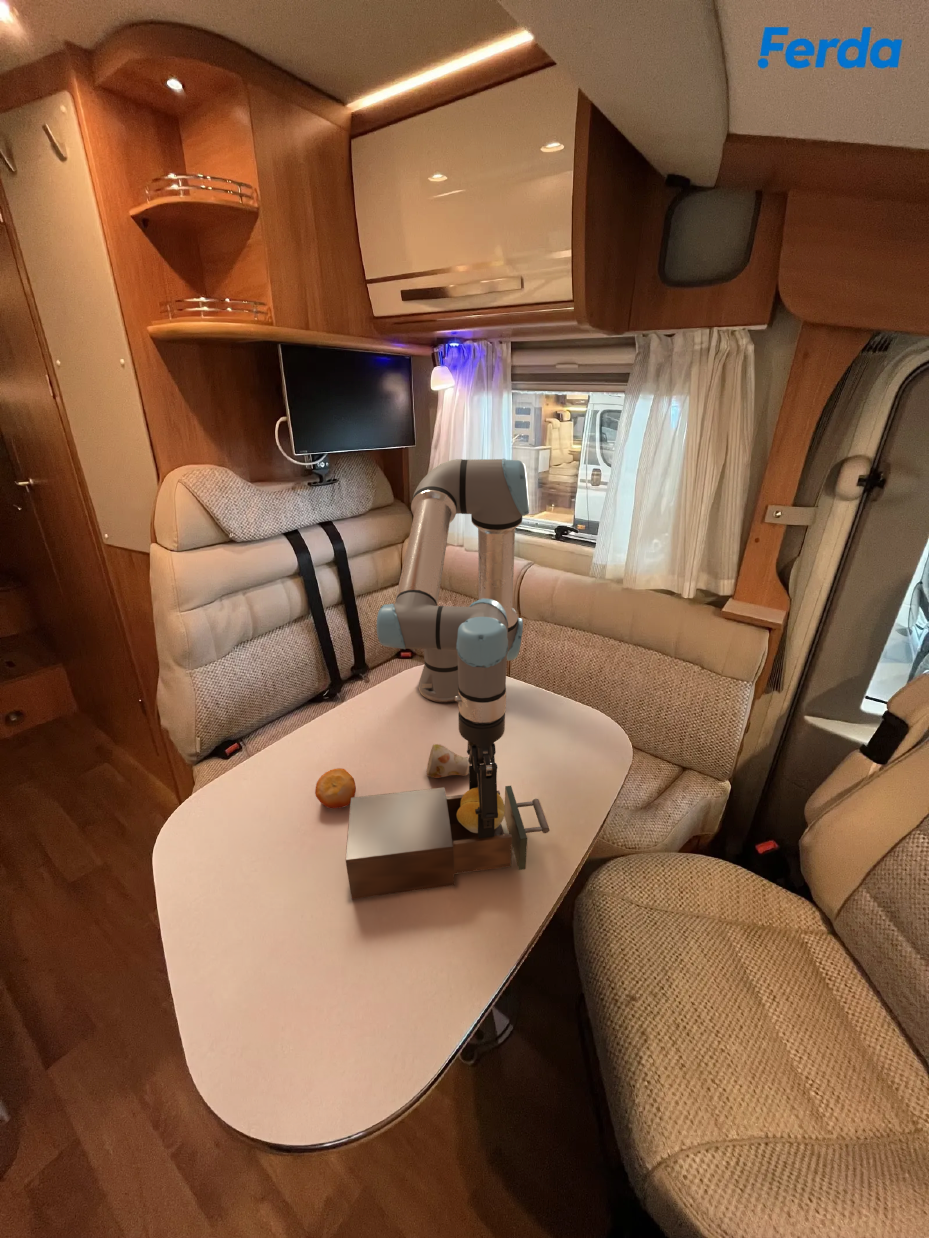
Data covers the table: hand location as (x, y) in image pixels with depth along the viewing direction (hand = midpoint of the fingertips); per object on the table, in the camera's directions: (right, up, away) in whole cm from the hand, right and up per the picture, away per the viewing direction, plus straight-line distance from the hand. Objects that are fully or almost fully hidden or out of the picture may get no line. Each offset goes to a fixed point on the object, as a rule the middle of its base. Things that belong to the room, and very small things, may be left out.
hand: (481, 813), depth 90 cm
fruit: (-30, -3, +15) cm, 33 cm away
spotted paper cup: (-6, 0, +22) cm, 23 cm away
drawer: (+1, -7, +3) cm, 8 cm away
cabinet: (-14, -9, +2) cm, 17 cm away
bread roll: (0, 0, 0) cm, 1 cm away
